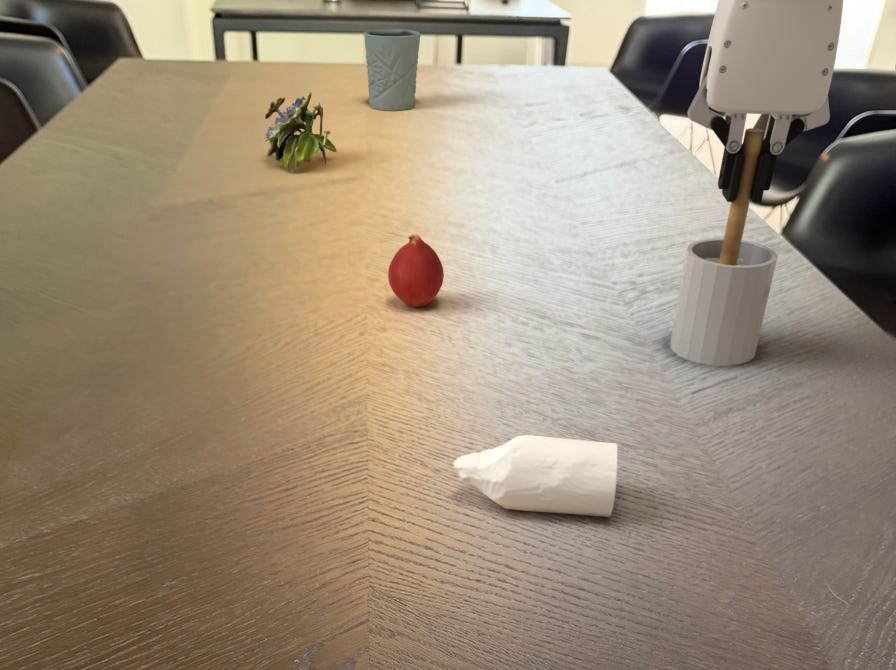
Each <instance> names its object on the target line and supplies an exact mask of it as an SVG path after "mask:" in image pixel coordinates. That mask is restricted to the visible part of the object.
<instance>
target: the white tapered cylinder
mask: <svg viewBox="0 0 896 670" xmlns="http://www.w3.org/2000/svg"><path fill="white" fill-rule="evenodd" d="M618 466H619V446H618V444H617V443H615V442H604V441H593V440H586V439H585V440H584V439H571V438H563V437H553V436H544V435H533V434H532V435H531V434H524V435H519V436H516V437H515V436H514V437H513V438H512V439H510V440H508V441H507V442H505V443H503V444H501V445H499V446H496V447H494V448H488V449H485V450H481V451H478V452H472V453H469V454H464V455H461V456H458V457H457V458H456V459H455V460H454V461H453V468H454V469H455V470H456V472H457V475H458V477H459V479H460V480H461V481H462V482H464V483H467V484H468V485H470V486H472V487H474V488H475V489H476V490H478V491H480V492H481V493H482V494H483V495H484V496H487V498H489V499H490V500H491V501H493V503H495V504H497V505H499V506H500V507H502V508H504V509H505V510H515V511H521V512H535V513H536V512H537V513H550V514H567V515H576V516H577V515H578V516H589V517H591V516H592V517H605V518H610V517H611V515H612V513H613V509H614V505H615V498H616V491H617V481H618V468H619V467H618Z"/></svg>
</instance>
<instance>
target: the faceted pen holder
mask: <svg viewBox="0 0 896 670" xmlns="http://www.w3.org/2000/svg"><path fill="white" fill-rule="evenodd" d="M723 240H724V238H722V237H721V238H719V237H718V238H707V239H701V240H696V241H693V242H692V243H690V244H688V245H687V248H686V249H685V256H684V261H683V267H682V273H681V278H680V284H679V290H678V294H677V295H678V296H677V301H676V306H675V307H676V308H675V313H674V318H673V326H672V331H671V336H670V341H669V342H670V343H669V346H670V349H671V351H672V352H674V353H675V354H676V355H677V356H679V357H680V358H683V359H684V360H687V361H690V362H694V363H697V364H700V365H707V366H716V367H717V366H719V367H728V366H729V367H730V366H737V365H742V364H746V363H748V362H750V361H751V360H752V359H754V358H755V356H756V353H757V349H758V345H759V339H760V337H761V331H762V326H763V323H764V318H765V313H766V309H767V306H768V301H769V296H770V292H771V288H772V283H773V279H774V276H775V275H774V274H775V270H776V265H777V263H778V257H779V256H778V254H777V253H776V251H775V250H773V249H772V248H770V247H768V246H766V245H763V244H761V243H758V242H754V241H749V240H745V239H742V240H741V245H740V250H739V254H738V259H743V260H744V262H745V263H746V265H747V266H742V265H727V264H719V263H715V262H711V261H707V260H705V258H720V255H721V250H722V245H723Z"/></svg>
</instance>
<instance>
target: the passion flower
mask: <svg viewBox="0 0 896 670" xmlns="http://www.w3.org/2000/svg"><path fill="white" fill-rule="evenodd" d="M312 94H313V93H312V91H309V92H307V95H306V97H305V96H302V97H298V98H296V100H295V101H294V102H292V103H291V105H290V106H288V107H286V109H283V111H281V110H280V109H279V108H280V107H281V106H282V105H283V104H284V102H285V101H286V97H284V96H283V97H280V96H278V97H277V99H276V100H275V102H274V101H271V102H270V104H269V108H268V110H267V111H266V112H265V113H264V114H265V116H264V118H265V120H268V119H269V118H270V117H271V116H272V115H273V114H274V113H277V114H278V116H277V117H275V120H274V123H271V126H269V127H268V128H267V131H266V132H265V136H266V137H264V140H265V142H267V141H268V144H269V147H268V150H267V153H266V156H267V157H271V156H273V158H274V159H275V161H280V160H282V159H283V160H282V162H283V166H284V167H283V168H284V169H285V170H287V172H288V173H291V171H292V170H291V169H292V168H291V167H292V163H293V160H294V164H295V167H296V168H299V167H301V166H302V165H304V163H305V162H306V163H310V162H312V161H313V160H315V158H316V157H317V155H318V154H319V150H320V152H321V154H322V157H323V160H324V164H325V165H327V164H328V163H327V158H326V157H327V156H326V150H328V151H330V152H333V153H337V148H336V146H335V145H334V144H333V142H332V141H331V140H330V139H329V138H328V136H329V135H331V131H330V130H324V131H323V120H324V119H323V117H324V108H323V106H322V105H321V103H320V102H319V101H317V102H316V103H315V104H314V105H312V108H313V110H312V111H311V110H309V108H308V107H309V104H310V102H311V99H312ZM318 116H319V118H320V119H319V133H313V125H314V121H315V120H316V119H317V117H318ZM302 130H303V131H302ZM297 132H298V133H299V134H297ZM323 133H324V134H323ZM266 138H267V139H266Z"/></svg>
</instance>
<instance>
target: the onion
mask: <svg viewBox="0 0 896 670" xmlns="http://www.w3.org/2000/svg"><path fill="white" fill-rule="evenodd" d="M444 277H445V274H444V266H443V264H442V261H441V259H440V257H439V255H438V254H437V252H436V251H435V249H433V247H432V246H430V245H429V244H428V243H426V242H425V240H423V239H422V237H421V236H420V235H419V234H417V233H413V234H411V235H409V236H408V242H407V243H406V244H404V245H402V246H401V247H400V248H399V249H398V250H397V251H396V252H395V254H394V255H393V258H392V260H391V261H390V264H389V267H388V272H387V278H388V284H389V286H390V289H391V291H392V292H393V294H394V295H395V296H396V297H397V299H399V300H400V301H401V302H403V303H404V304H405V305H406V306H407V307H411V308H422V307H425V306H427V305H429V304H430V303H431V302H432V301H433V300H434V299H435V298H436V297H437V296H438V294H439V292H440V290H441V288H442V286H443V284H444Z"/></svg>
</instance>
